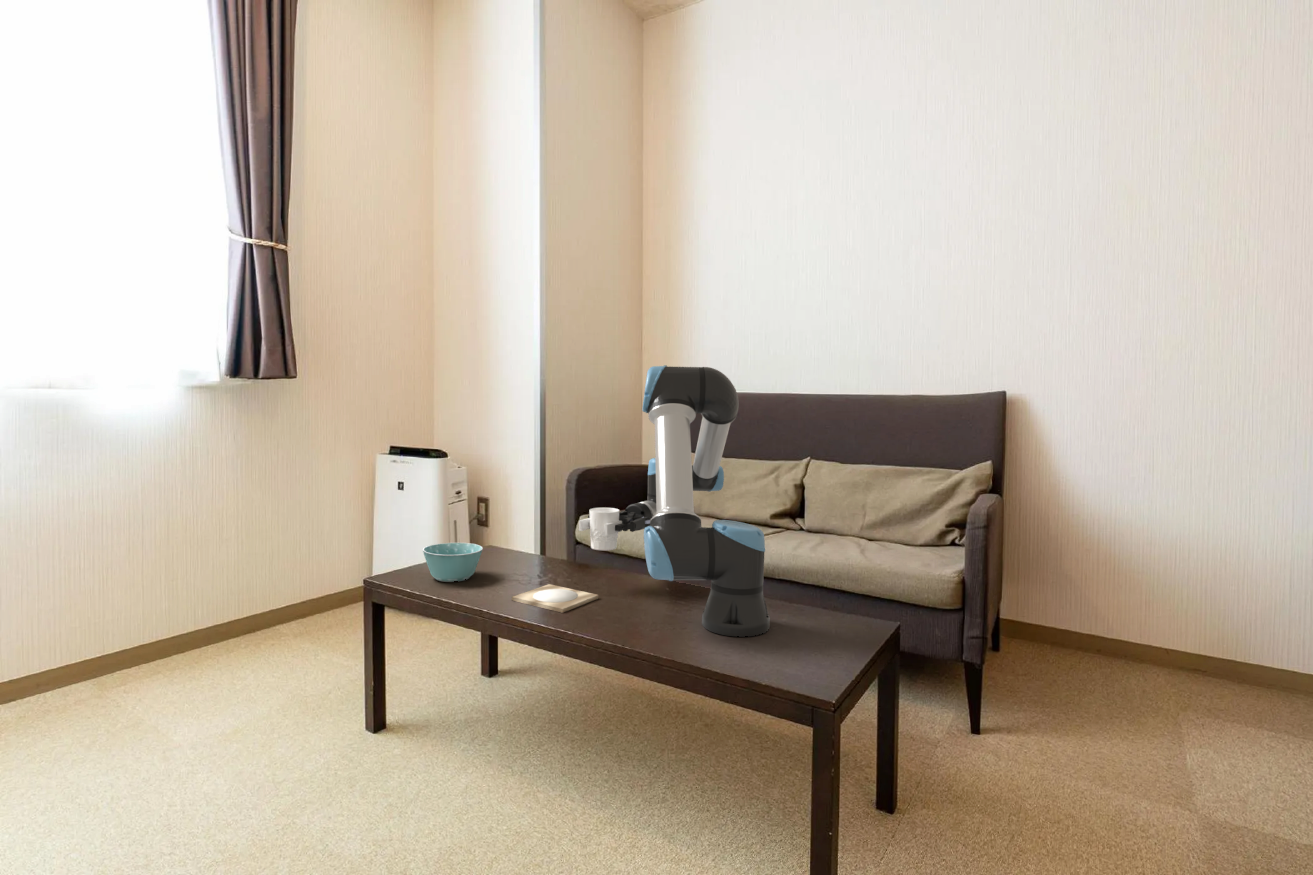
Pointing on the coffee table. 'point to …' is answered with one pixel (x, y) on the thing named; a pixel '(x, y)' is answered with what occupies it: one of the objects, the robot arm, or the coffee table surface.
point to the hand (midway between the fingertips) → (592, 527)
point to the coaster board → (555, 598)
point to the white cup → (603, 528)
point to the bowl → (452, 560)
